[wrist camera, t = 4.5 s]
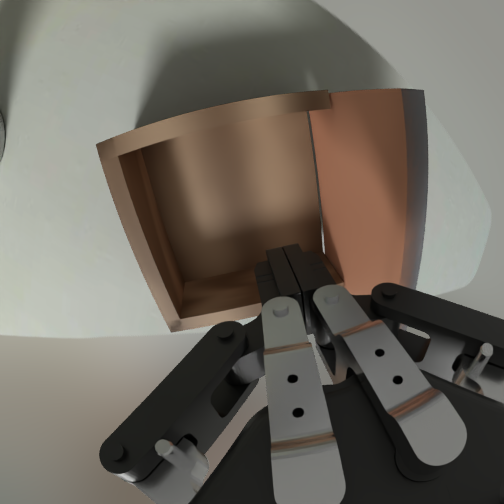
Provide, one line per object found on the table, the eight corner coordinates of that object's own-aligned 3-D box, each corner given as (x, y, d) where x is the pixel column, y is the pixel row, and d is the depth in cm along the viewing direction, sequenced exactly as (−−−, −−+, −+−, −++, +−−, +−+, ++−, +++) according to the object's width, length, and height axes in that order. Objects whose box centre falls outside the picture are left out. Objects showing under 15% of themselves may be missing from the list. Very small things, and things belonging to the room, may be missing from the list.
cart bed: (180, 277, 28) (171, 332, 21) (133, 132, 21) (95, 144, 14) (313, 247, 28) (343, 294, 21) (293, 95, 21) (327, 89, 14)
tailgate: (325, 260, 25) (384, 356, 15) (306, 96, 18) (401, 88, 8) (337, 257, 25) (400, 350, 15) (321, 94, 18) (423, 90, 8)
